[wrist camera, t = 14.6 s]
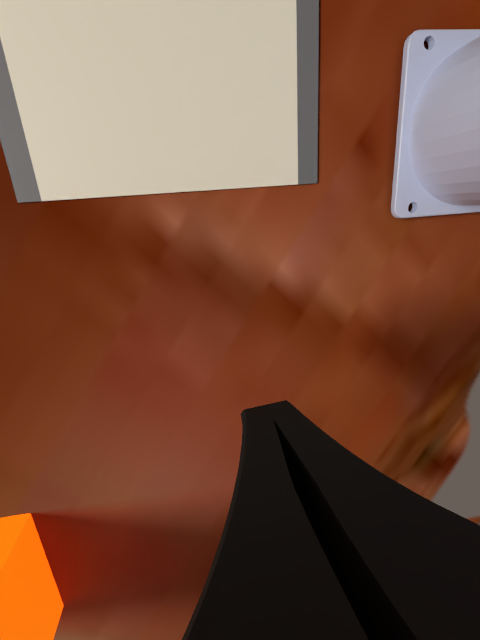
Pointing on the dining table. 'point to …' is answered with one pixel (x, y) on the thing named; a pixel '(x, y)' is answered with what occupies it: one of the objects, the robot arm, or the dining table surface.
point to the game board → (157, 95)
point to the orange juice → (26, 583)
